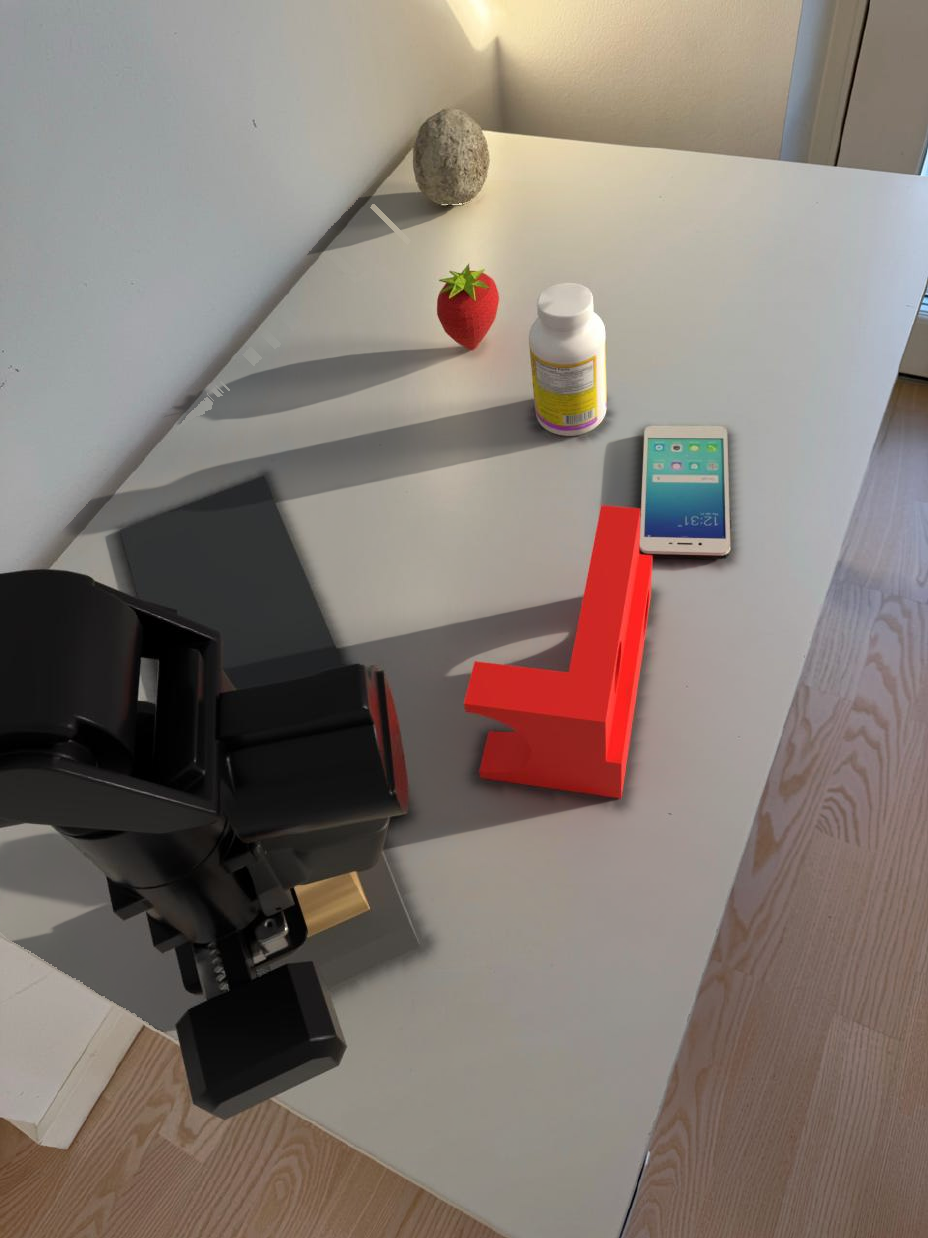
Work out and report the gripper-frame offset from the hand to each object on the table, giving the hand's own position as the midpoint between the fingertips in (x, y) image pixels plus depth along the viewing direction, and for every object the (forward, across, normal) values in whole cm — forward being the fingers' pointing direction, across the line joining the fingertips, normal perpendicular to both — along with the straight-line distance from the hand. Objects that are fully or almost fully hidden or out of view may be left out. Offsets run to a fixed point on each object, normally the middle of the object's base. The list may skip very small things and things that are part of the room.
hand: (272, 947), depth 52 cm
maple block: (+10, +6, -2) cm, 12 cm away
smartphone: (+14, +28, -42) cm, 53 cm away
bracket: (+14, +16, -24) cm, 32 cm away
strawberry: (+14, +56, -34) cm, 67 cm away
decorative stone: (+14, +82, -43) cm, 94 cm away
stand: (+14, +6, -2) cm, 15 cm away
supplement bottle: (+14, +42, -38) cm, 59 cm away
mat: (+13, +30, -2) cm, 33 cm away
